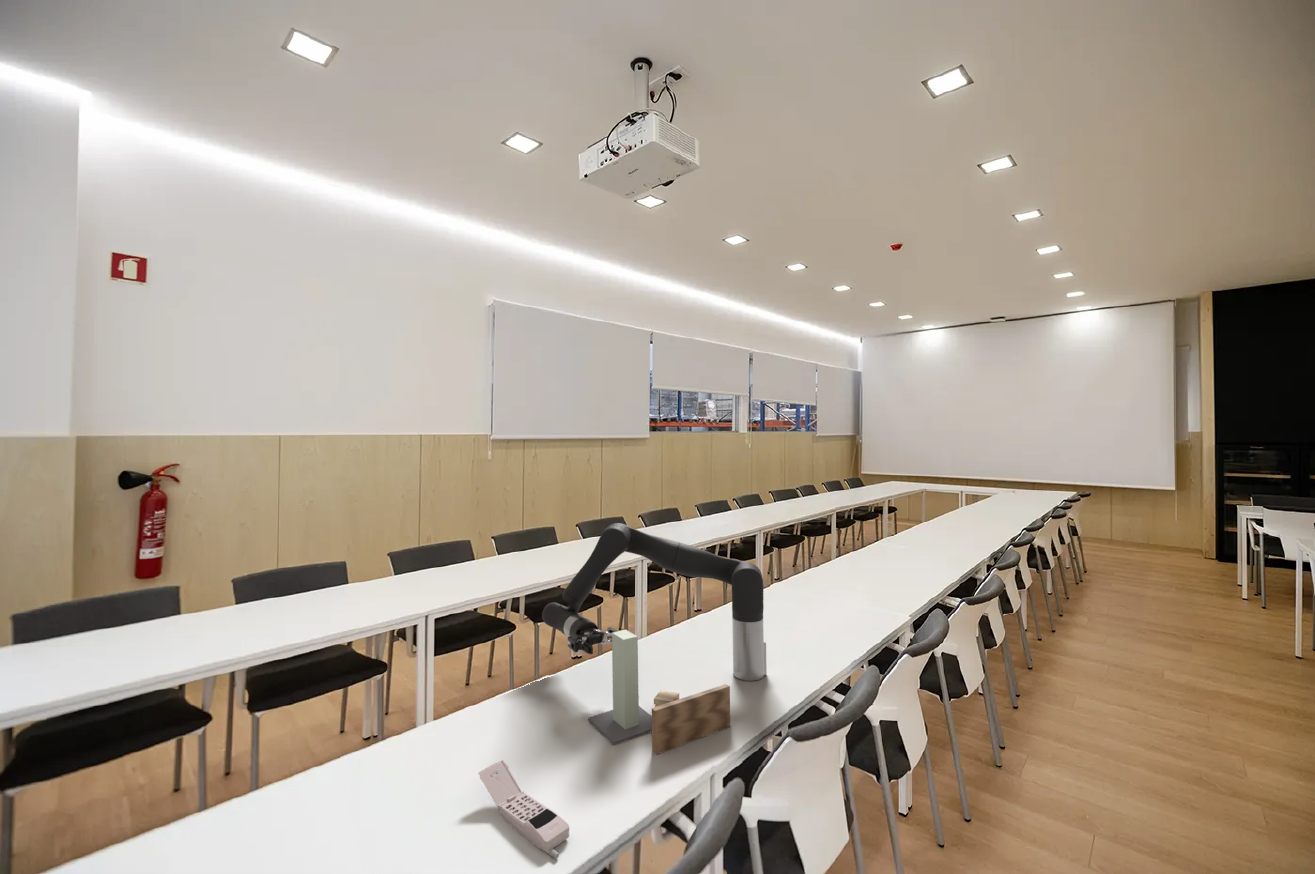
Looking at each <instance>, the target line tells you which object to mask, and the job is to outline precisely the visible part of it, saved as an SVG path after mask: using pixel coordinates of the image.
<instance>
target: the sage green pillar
mask: <svg viewBox="0 0 1315 874" xmlns="http://www.w3.org/2000/svg"><path fill="white" fill-rule="evenodd" d="M611 640H612V643H611V648H612V649H611V650H612V651H611V654H612V655H611V657H612V658H611V659H612V660H611V661H612V663H611V664H612V665H611V666H612V670H611V671H612V710H613V720H615V721H616V722H617V723H618V724H619V725H620V726H621V727H623V728H624V729H628V728H631V727H634V726H637V725H639V706H640V705H639V702H640V701H639V697H640V696H639V647H638V646H639V645H638V644H639V643H638V640H639V639H638V635H636V634H634V633H632V632H631V631H629V630H627V629H623V630H617V632H613V633H612V639H611Z"/></svg>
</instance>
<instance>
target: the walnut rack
mask: <svg viewBox="0 0 1315 874" xmlns="http://www.w3.org/2000/svg"><path fill="white" fill-rule="evenodd" d="M730 694H731V686H730V685H728V684H727V683H725V684H721V685H719V686H716V687H712V688H710V689H709V688H708V689H706V690H703V691H700V692H697V693H694V694H692V695H688V696H685V697H682V698H679V699H678V700H675V701H672V702H669V703H666V704H663V705H660V706H657V707H655V706H653V707H651V716H652V732H651V750H652V751H651V752H652V753H653V754H654V755H655V756H657V755H659V754H662V753H664V752H667V751H670V750H672V749H675V748H678V747H680V746H683V745H685V744H688V743H690V742H693V741H696V740H698V739H701V738H705V737H707V736H709V735H712V734H714V733H717V732H720V731H723V730H725V729H728V728H730V727H731V695H730Z"/></svg>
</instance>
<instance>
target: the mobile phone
mask: <svg viewBox="0 0 1315 874" xmlns="http://www.w3.org/2000/svg"><path fill="white" fill-rule="evenodd" d="M478 776H479V779H480V780H481V782H482V783H483V784H484V786H485V788H486V790H487V792H488V793H489V795H490V797H491V798H492V800H493V802H494V803H495V805H496V807H497V808H498V814H499V816H500V818H501V819H503V820H504V821H505V822H506V823H507V824H509V826H510V827H512V828H513V829H514V830H515V831H517V832H518V833H519V834H520V835H522V836H523V837H524V838H525V839H526V840H527V841H528V842H530V843H531V844H532V845H534V846H535V847H536V848H538V849H540V850H542V851H544V852H545V853H547V854H548V855H549V856H551V857H553V858H554V859H558V858H559V857H560V856H559V855H560V853H559V852H557V851H556V849H554V848H555V847H557V846H558V845H559V844H561V843H563V842H564V841H566V840H567V839H568V838H569V837H570V825H569V823H568V822H567V821H566V820H564V819H563V818H562V817H561V816H560V815H559V814H557V813H556V812H554V810H552V809H551V808H550V807H547V806H545V805H544V804H543V803H541V802H539V801H538V800H537V799H534V798H533V797H532V796H530V795H529V794H527V793H525V791H522V789H521V788H520V786H519V785H518V782H517V781H516V780H515V778H514V776H513V774H512V772H511V771H510V769H509V766H508V764H507V763H506V762H505V761H504V760H503V759H502V760H500V761H497V762H494V763H493V764H491V765H489V766H487V767H486V768H484V769H482V770H480V771H478Z"/></svg>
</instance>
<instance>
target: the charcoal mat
mask: <svg viewBox="0 0 1315 874" xmlns="http://www.w3.org/2000/svg"><path fill="white" fill-rule="evenodd" d="M587 721H588V722H590V724H591V725H592V726H594V727H595V729H596V730H598V731H599V732H600V734H601V735H603V736H604V737H605V738H606V739H607V741H608V742H610V743H611V744H612V745H613V746H614V745H618V744H620V743H624V742H626V741H629V740H633V739H634V738H637V737H641V736H643V735H645V734H649V733H652V714H650V713H649V712H648V711H646V710H645V709H644V708H643V707H641V706H640V705H639V725H637V726H634V727H631V728H628V729H624V728H623V727H621V726H620V725H619V724H618V723H617V722H616V721H615V720H613V709H611V710H608V711H604V712H601V713H598V714H595V715H592V716H588V717H587Z"/></svg>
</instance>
